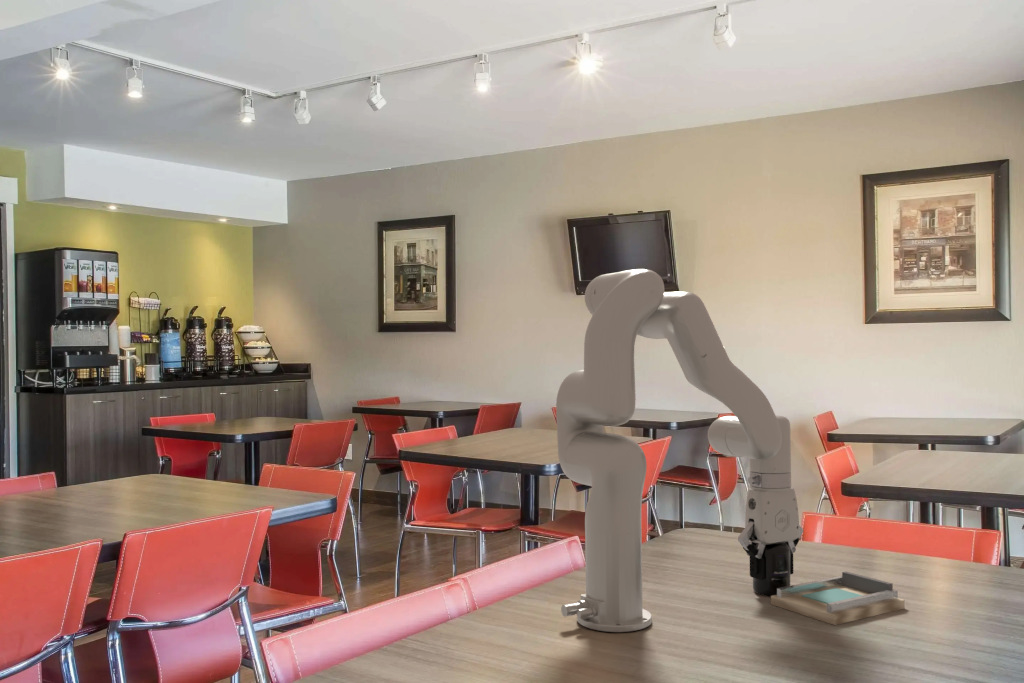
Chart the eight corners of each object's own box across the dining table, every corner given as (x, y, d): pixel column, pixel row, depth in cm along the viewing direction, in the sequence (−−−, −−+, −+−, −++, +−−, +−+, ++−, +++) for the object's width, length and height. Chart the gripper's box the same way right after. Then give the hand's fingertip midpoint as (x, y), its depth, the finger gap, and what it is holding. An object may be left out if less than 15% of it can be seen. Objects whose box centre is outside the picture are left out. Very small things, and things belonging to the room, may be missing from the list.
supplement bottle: (783, 599, 158) (782, 533, 158) (747, 593, 162) (746, 529, 163) (796, 591, 164) (795, 527, 164) (761, 585, 168) (760, 523, 168)
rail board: (834, 625, 143) (834, 600, 143) (771, 604, 155) (770, 581, 155) (904, 608, 152) (904, 585, 152) (839, 589, 164) (838, 568, 164)
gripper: (751, 487, 156) (752, 586, 156) (818, 479, 164) (819, 573, 164) (722, 482, 162) (723, 577, 162) (787, 475, 171) (789, 565, 171)
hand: (771, 574), depth 163 cm, fingers closed on supplement bottle, 6 cm apart
